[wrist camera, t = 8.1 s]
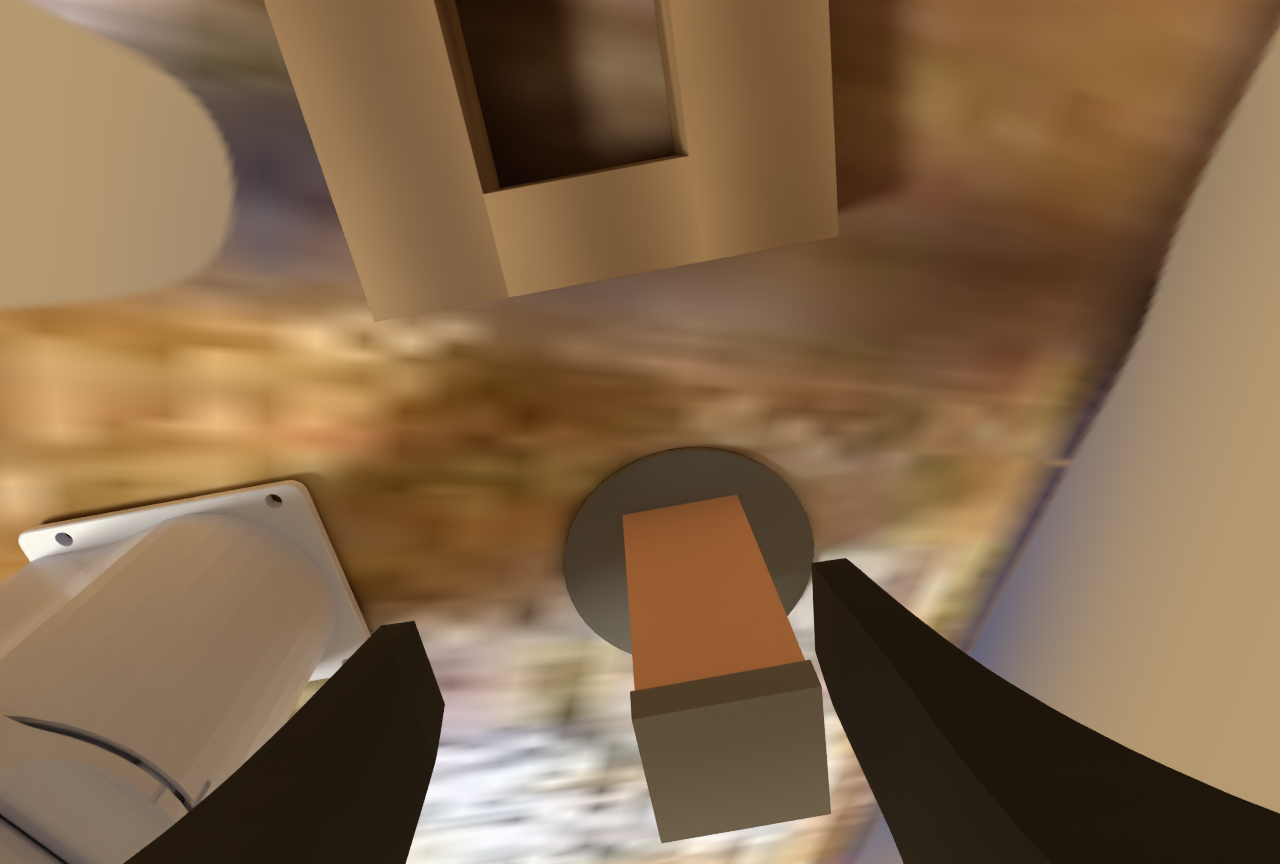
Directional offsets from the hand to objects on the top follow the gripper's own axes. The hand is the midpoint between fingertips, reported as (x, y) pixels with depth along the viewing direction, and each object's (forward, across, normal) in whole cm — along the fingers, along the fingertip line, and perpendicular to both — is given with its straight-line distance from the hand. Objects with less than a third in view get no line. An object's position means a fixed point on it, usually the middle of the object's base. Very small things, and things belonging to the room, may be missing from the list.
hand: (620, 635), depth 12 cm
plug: (+10, -2, +6) cm, 12 cm away
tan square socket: (+10, 0, -10) cm, 14 cm away
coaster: (+10, -2, +6) cm, 12 cm away
